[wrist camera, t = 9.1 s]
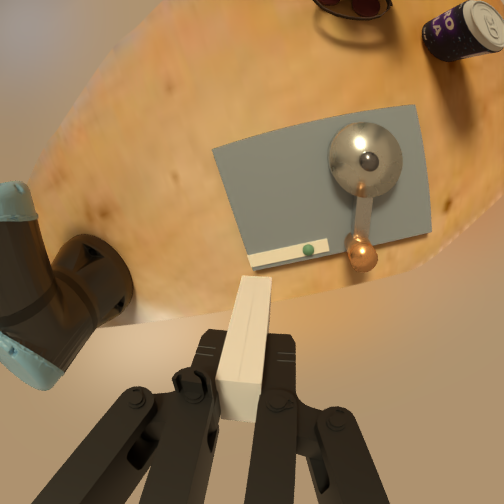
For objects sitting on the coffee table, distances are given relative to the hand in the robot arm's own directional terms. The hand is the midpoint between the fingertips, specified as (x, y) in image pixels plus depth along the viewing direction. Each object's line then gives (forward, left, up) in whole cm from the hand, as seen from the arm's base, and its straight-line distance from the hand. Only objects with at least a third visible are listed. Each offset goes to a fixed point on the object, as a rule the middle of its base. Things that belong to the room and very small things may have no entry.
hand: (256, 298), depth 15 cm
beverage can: (+26, +15, -21) cm, 37 cm away
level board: (+7, -1, -21) cm, 22 cm away
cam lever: (+10, -1, -19) cm, 22 cm away
